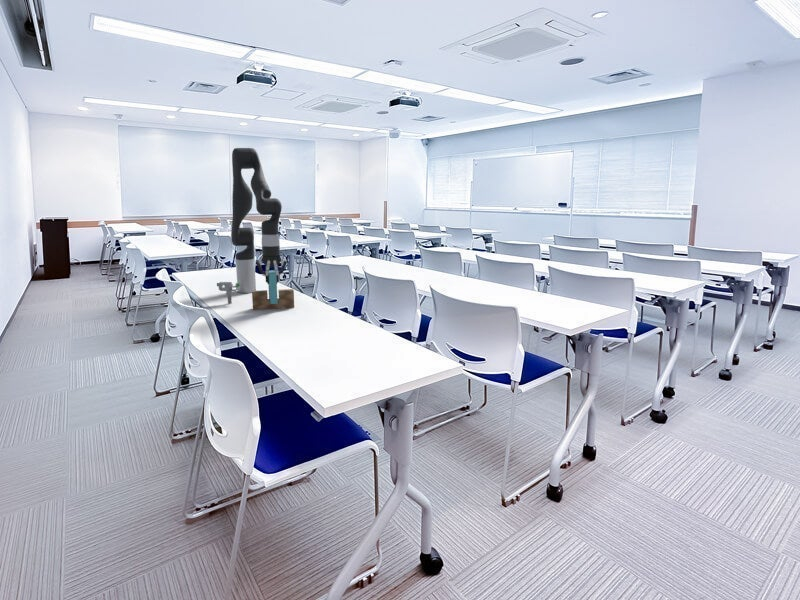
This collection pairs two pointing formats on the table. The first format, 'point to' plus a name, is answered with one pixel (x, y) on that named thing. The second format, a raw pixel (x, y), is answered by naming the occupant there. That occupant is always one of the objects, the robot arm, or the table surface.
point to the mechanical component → (228, 288)
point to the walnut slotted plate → (263, 302)
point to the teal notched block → (272, 287)
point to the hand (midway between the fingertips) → (272, 283)
